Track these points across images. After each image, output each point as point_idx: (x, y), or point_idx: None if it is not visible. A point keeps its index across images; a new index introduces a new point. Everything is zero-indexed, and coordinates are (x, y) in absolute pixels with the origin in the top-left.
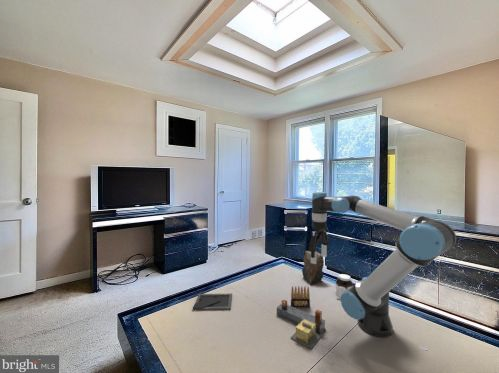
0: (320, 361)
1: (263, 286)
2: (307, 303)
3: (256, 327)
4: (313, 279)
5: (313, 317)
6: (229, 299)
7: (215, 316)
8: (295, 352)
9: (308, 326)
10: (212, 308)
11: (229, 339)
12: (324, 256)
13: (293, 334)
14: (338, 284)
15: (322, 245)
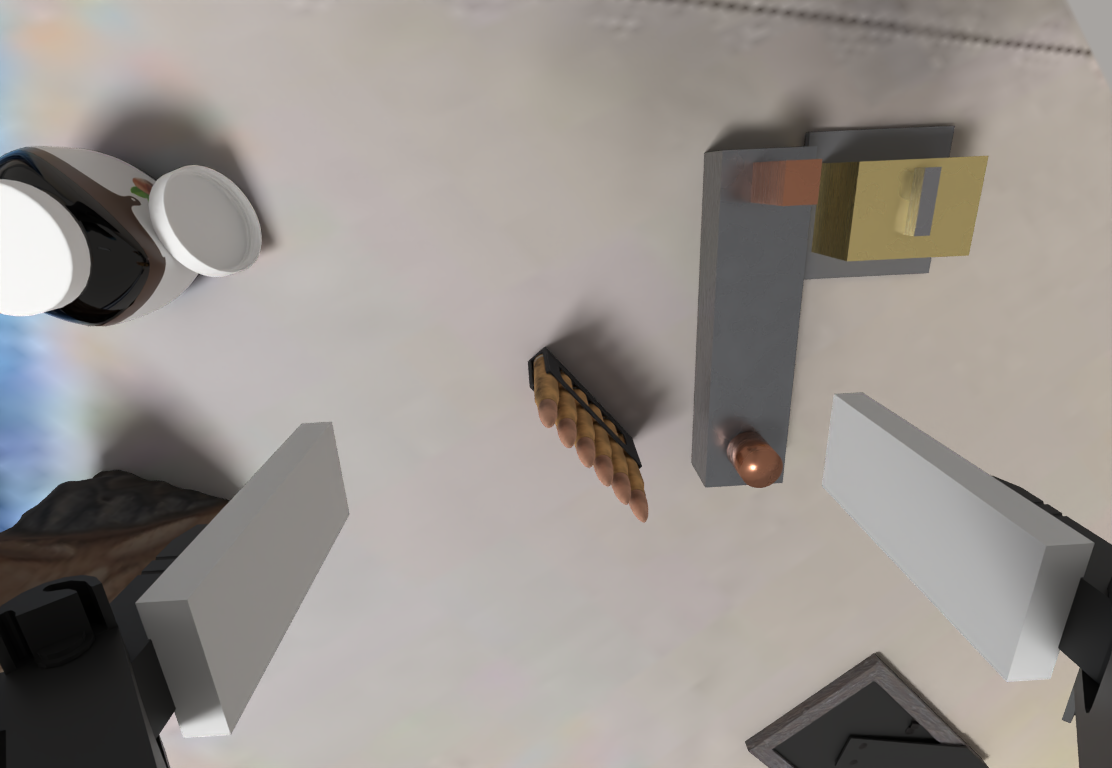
0: (1016, 32)
1: (529, 697)
2: (559, 370)
3: None
4: (187, 516)
5: (742, 234)
6: (811, 720)
7: (965, 662)
8: (1015, 188)
9: (932, 184)
10: (934, 715)
11: (1085, 499)
12: (336, 458)
13: (895, 274)
14: (153, 275)
15: (232, 693)
